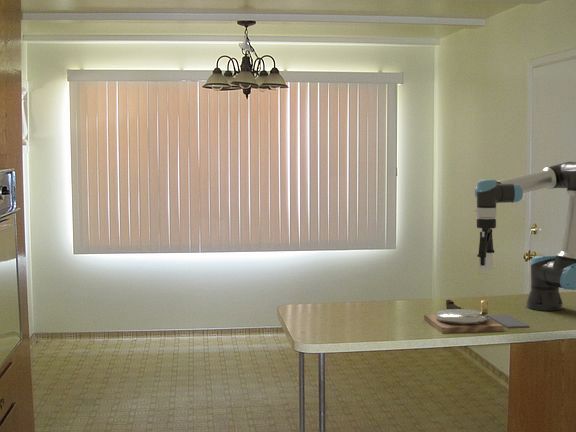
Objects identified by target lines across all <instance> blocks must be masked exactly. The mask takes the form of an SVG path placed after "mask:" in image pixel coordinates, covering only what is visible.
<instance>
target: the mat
mask: <svg viewBox="0 0 576 432" xmlns="http://www.w3.org/2000/svg"><path fill="white" fill-rule="evenodd" d="M488 317H489V318H490V319H492V320H494V321H496V322H497V323H499V324H501V325H503V327H505V328H507V329H514V328H515V329H517V328H520V329H521V328H522V329H523V328H530V325H529V324H527V323H525V322H523V321H521V320H519V319H517V318H515V316H514V317H513V316H512V315H510V314H508V313H507V314H505V313H504V314H488Z"/></svg>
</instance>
